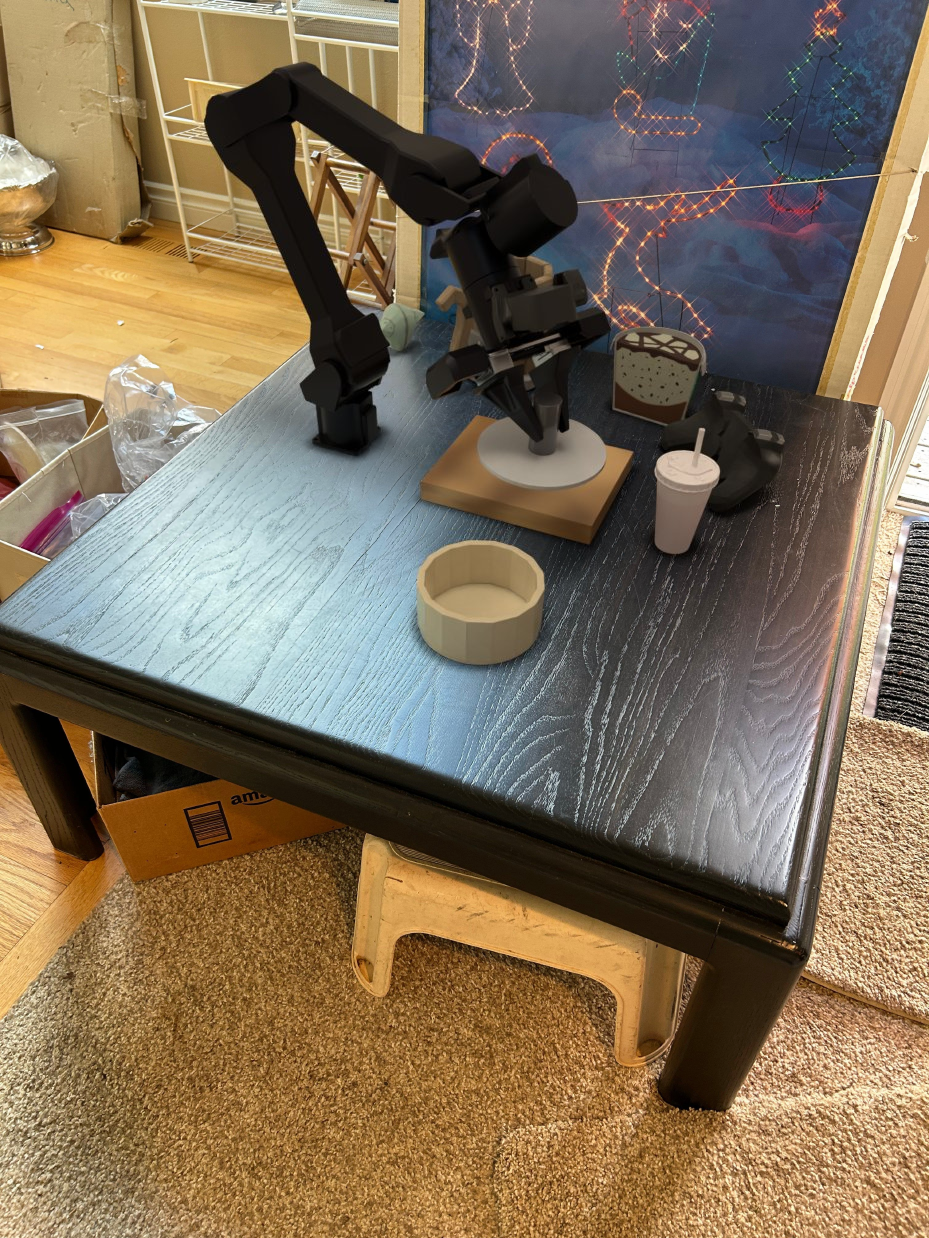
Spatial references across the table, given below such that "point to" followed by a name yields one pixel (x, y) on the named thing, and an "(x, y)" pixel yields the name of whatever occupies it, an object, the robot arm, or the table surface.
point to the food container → (655, 373)
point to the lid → (542, 450)
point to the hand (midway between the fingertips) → (552, 436)
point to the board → (523, 490)
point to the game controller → (729, 448)
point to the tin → (480, 601)
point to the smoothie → (682, 495)
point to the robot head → (399, 324)
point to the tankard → (467, 328)
